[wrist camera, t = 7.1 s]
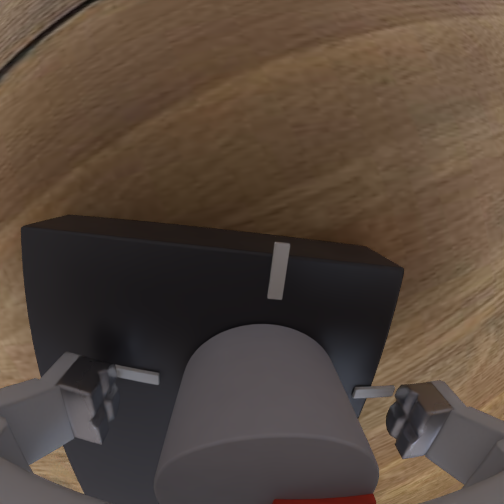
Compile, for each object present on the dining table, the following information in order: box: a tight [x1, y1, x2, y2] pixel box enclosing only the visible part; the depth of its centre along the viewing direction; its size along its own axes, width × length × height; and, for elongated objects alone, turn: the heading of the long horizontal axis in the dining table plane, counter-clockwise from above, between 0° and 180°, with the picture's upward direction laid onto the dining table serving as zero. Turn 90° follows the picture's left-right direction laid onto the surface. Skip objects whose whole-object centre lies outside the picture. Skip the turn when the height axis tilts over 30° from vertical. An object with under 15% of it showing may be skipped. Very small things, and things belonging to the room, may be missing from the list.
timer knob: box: [154, 324, 379, 504], centre depth 6 cm, size 4×4×4 cm
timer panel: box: [21, 215, 404, 504], centre depth 10 cm, size 14×12×3 cm
